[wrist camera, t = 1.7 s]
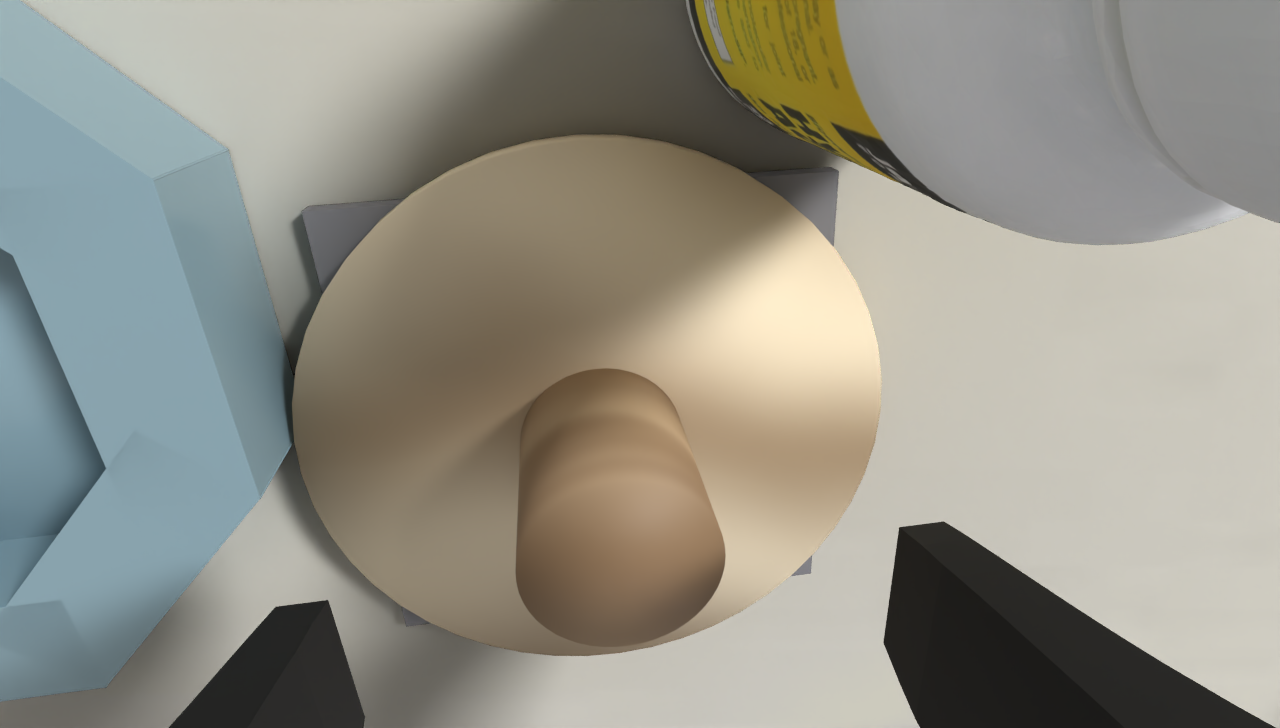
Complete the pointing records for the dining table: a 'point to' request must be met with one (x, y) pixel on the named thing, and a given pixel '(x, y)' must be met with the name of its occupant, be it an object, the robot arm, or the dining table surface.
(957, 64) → the supplement bottle
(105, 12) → the dining table surface
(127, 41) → the dining table surface
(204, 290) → the bowl
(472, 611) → the lid
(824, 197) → the mat
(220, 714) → the robot arm
